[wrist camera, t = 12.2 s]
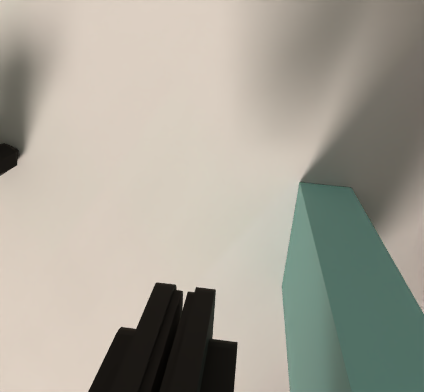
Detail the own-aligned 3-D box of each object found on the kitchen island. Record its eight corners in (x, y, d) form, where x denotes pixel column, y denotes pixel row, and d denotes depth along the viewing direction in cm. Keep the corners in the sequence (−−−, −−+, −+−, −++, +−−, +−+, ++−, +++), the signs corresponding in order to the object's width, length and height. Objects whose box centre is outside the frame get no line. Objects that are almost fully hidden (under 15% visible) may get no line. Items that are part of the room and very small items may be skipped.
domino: (327, 292, 17) (402, 593, 8) (281, 286, 17) (304, 575, 8) (351, 187, 15) (489, 428, 6) (299, 182, 15) (356, 408, 6)
